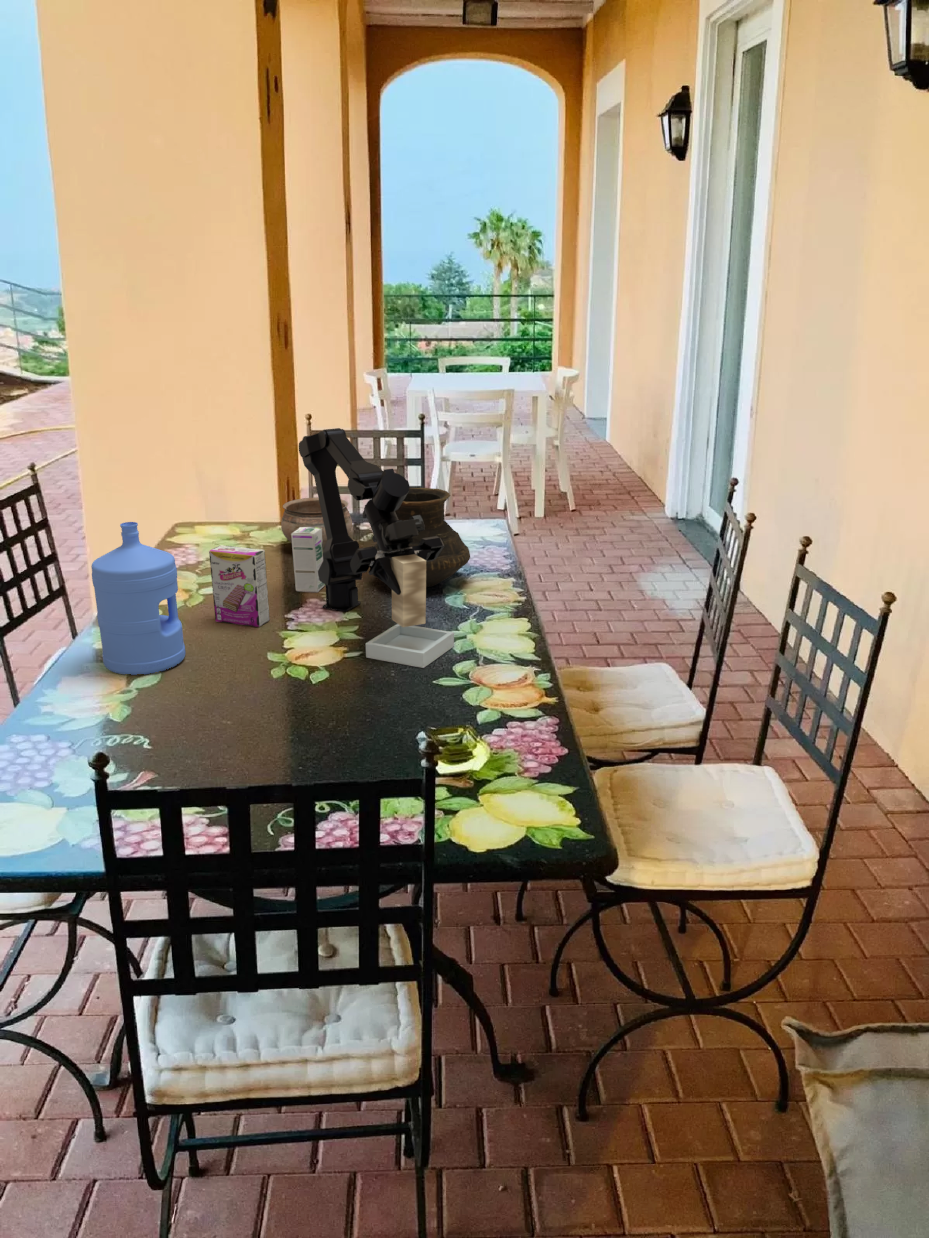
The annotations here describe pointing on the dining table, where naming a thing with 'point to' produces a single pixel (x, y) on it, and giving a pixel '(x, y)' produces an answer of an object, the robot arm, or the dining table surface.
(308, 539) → the syrup box
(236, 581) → the candy bar box
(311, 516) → the cooking pot
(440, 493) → the ceramic pot
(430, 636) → the tray
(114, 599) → the water jug
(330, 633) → the dining table surface
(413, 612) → the birch block
